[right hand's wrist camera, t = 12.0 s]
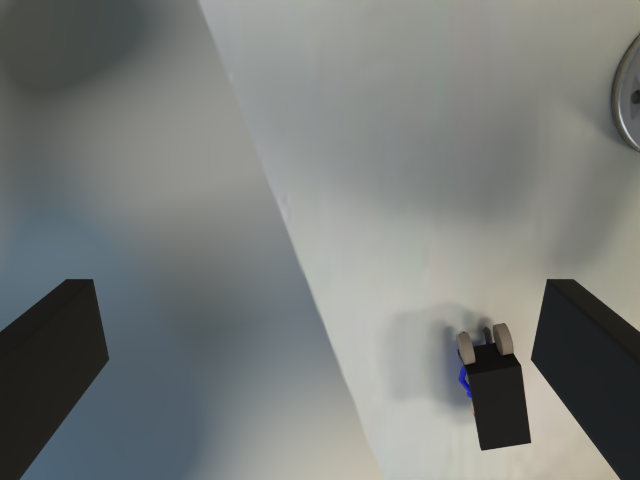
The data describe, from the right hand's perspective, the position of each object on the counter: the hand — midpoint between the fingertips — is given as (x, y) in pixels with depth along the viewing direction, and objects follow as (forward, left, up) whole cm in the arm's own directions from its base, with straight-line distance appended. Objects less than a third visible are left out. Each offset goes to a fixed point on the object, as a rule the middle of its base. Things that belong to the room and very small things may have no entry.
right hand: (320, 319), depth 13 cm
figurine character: (-34, +11, -37) cm, 51 cm away
